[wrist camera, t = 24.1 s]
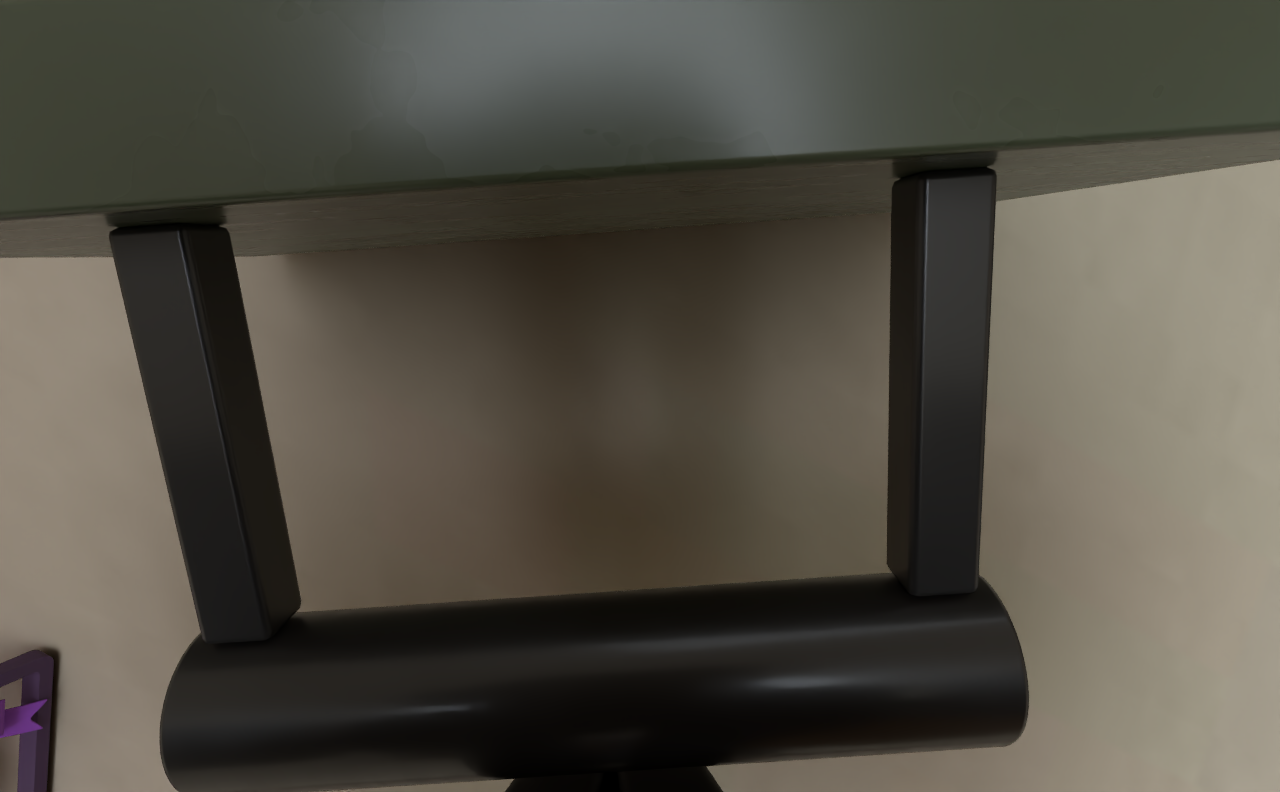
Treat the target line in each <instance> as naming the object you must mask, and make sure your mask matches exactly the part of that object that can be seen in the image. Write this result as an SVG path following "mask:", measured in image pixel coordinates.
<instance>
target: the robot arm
mask: <svg viewBox="0 0 1280 792" xmlns="http://www.w3.org/2000/svg"><path fill="white" fill-rule="evenodd" d="M505 792H723V791H722V789H721V788H720V786H719V785H718V783H717V782H716V780H715V779H714V777H713V776H712V774H711V773H710V771H709V770H708V768H707V767H706V766H699V767H683V768H668V769H653V770H638V771H623V772H607V773H592V774H577V775H562V776H546V777H531V778H516V779H514V780H513V782H512V783H511V784H510V786H509V787H508V788H507V789H506V791H505Z"/></svg>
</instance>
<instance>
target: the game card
mask: <svg viewBox="0 0 1280 792" xmlns="http://www.w3.org/2000/svg"><path fill="white" fill-rule="evenodd" d="M53 666H54V661H53V658H52V657H50V656H49V655H47V654H45V653H44V652H42V651H40V650H33V651H29V652H27V653H25V654H22V655H20V656H17V657H15V658H12V659H10V660H8V661H5V662H3V663H0V687H2V686H4V685H7V684H9V683H11V682H14V681H16V680H18V679H20V678H22V700H21V706H18V707H14V708H10V709H5V699H4V700H0V738H2V737H7V736H12V735H17V734H20V744H19V767H18V789H17V792H47V774H48V756H49V738H50V720H51V702H52V684H53Z"/></svg>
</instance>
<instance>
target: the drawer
mask: <svg viewBox="0 0 1280 792" xmlns="http://www.w3.org/2000/svg"><path fill="white" fill-rule="evenodd" d="M1273 160H1280V0H0V258H18V257H113V258H114V262H115V266H116V270H117V275H118V279H119V283H120V288H121V292H122V296H123V300H124V305H125V309H126V313H127V318H128V322H129V326H130V330H131V335H132V339H133V343H134V348H135V352H136V356H137V360H138V365H139V369H140V373H141V378H142V382H143V386H144V390H145V395H146V399H147V403H148V408H149V412H150V416H151V420H152V425H153V429H154V433H155V437H156V442H157V446H158V450H159V455H160V459H161V463H162V467H163V472H164V476H165V480H166V485H167V489H168V493H169V497H170V502H171V506H172V510H173V515H174V519H175V523H176V527H177V532H178V536H179V540H180V545H181V549H182V553H183V557H184V562H185V566H186V570H187V575H188V579H189V583H190V587H191V592H192V596H193V600H194V605H195V609H196V613H197V617H198V622H199V626H200V630H201V633H200V634H199V635H198V636H197V637H196V638H195V639H194V641H193V642H192V643H191V644H190V645H189V647H188V648H187V650H186V651H185V653H184V654H183V656H182V657H181V659H180V661H179V663H178V665H177V667H176V669H175V671H174V673H173V676H172V678H171V681H170V684H169V686H168V689H167V692H166V696H165V700H164V704H163V709H162V714H161V722H160V753H161V759H162V764H163V767H164V770H165V773H166V775H167V777H168V779H169V781H170V783H171V784H172V785H173V787H174V788H175V789H176V790H177V791H179V792H318V791H333V790H348V789H363V788H379V787H394V786H409V785H424V784H440V783H455V782H470V781H485V780H501V779H516V778H531V777H546V776H562V775H577V774H592V773H607V772H623V771H638V770H653V769H668V768H683V767H699V766H714V765H729V764H744V763H760V762H775V761H790V760H805V759H821V758H836V757H851V756H866V755H882V754H897V753H912V752H927V751H943V750H958V749H973V748H988V747H1004V746H1008V745H1010V744H1012V743H1014V742H1015V741H1016V740H1017V739H1019V737H1020V736H1021V734H1022V733H1023V731H1024V728H1025V725H1026V721H1027V717H1028V708H1029V691H1028V680H1027V672H1026V667H1025V662H1024V657H1023V653H1022V649H1021V646H1020V643H1019V640H1018V636H1017V633H1016V631H1015V628H1014V626H1013V623H1012V621H1011V619H1010V616H1009V614H1008V612H1007V610H1006V608H1005V606H1004V605H1003V603H1002V601H1001V599H1000V598H999V596H998V595H997V593H996V592H995V591H994V589H993V588H992V587H991V585H990V584H989V583H988V582H987V581H986V580H985V579H984V578H983V577H981V576H980V575H979V555H980V533H981V511H982V490H983V468H984V446H985V424H986V402H987V380H988V359H989V337H990V315H991V293H992V271H993V249H994V228H995V206H996V201H1001V200H1008V199H1015V198H1022V197H1029V196H1035V195H1042V194H1049V193H1056V192H1063V191H1069V190H1076V189H1083V188H1090V187H1097V186H1103V185H1110V184H1117V183H1124V182H1131V181H1137V180H1144V179H1151V178H1158V177H1165V176H1171V175H1178V174H1185V173H1192V172H1199V171H1205V170H1212V169H1219V168H1226V167H1233V166H1239V165H1246V164H1253V163H1260V162H1267V161H1273ZM885 212H891V279H890V354H889V429H888V504H887V565H888V568H889V569H890V571H891V572H892V573H880V574H865V575H850V576H835V577H820V578H805V579H790V580H775V581H760V582H745V583H730V584H715V585H700V586H685V587H670V588H655V589H640V590H626V591H611V592H596V593H581V594H566V595H551V596H536V597H521V598H506V599H491V600H476V601H461V602H446V603H431V604H416V605H401V606H386V607H371V608H356V609H342V610H327V611H312V612H297V610H298V609H299V608H300V606H301V596H300V591H299V586H298V581H297V576H296V570H295V565H294V560H293V555H292V550H291V545H290V540H289V535H288V529H287V524H286V519H285V514H284V509H283V504H282V499H281V493H280V488H279V483H278V478H277V473H276V468H275V463H274V458H273V452H272V447H271V442H270V437H269V432H268V427H267V422H266V417H265V411H264V406H263V401H262V396H261V391H260V386H259V381H258V376H257V370H256V365H255V360H254V355H253V350H252V345H251V340H250V335H249V329H248V324H247V319H246V314H245V309H244V304H243V299H242V294H241V288H240V283H239V278H238V273H237V268H236V263H235V258H234V256H267V255H281V254H296V253H310V252H324V251H339V250H353V249H368V248H382V247H396V246H411V245H425V244H439V243H454V242H468V241H483V240H497V239H511V238H526V237H540V236H555V235H569V234H583V233H598V232H612V231H626V230H641V229H655V228H670V227H684V226H698V225H713V224H727V223H742V222H756V221H770V220H785V219H799V218H813V217H828V216H842V215H857V214H871V213H885ZM296 612H297V613H296Z"/></svg>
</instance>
